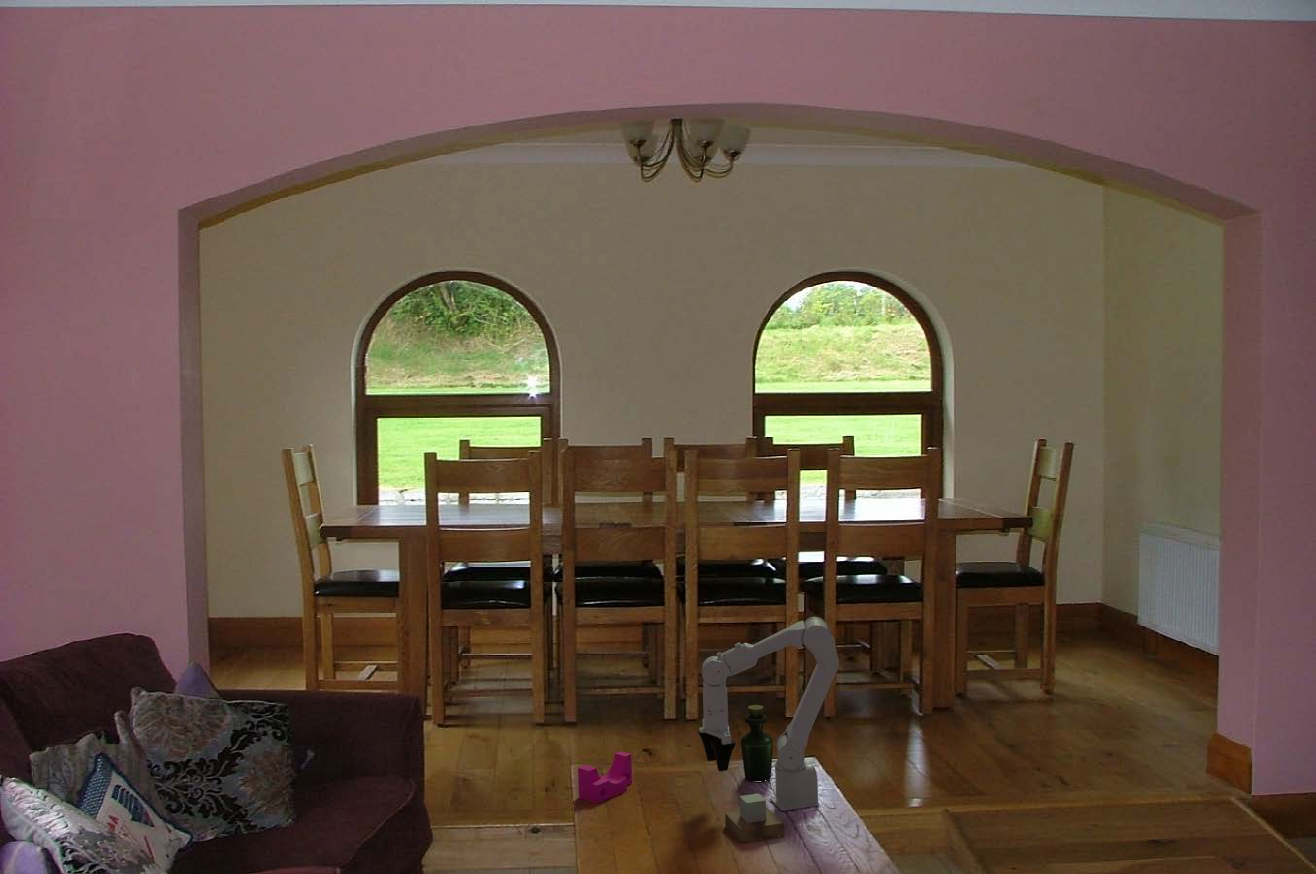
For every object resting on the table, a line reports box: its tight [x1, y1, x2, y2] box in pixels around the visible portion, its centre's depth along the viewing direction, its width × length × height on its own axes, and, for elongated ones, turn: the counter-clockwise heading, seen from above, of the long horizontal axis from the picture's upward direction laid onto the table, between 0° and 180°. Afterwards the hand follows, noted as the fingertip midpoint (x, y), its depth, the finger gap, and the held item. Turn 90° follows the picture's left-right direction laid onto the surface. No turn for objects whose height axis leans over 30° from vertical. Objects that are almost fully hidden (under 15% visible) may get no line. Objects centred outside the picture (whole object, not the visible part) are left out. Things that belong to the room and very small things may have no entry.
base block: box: [724, 806, 785, 844], centre depth 268 cm, size 10×10×3 cm
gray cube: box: [739, 793, 767, 823], centre depth 268 cm, size 4×4×4 cm
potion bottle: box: [740, 704, 774, 782], centre depth 301 cm, size 8×8×18 cm
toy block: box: [577, 751, 633, 804], centre depth 296 cm, size 15×6×8 cm, turn 139°
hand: (717, 765), depth 284 cm, fingers open, 7 cm apart
